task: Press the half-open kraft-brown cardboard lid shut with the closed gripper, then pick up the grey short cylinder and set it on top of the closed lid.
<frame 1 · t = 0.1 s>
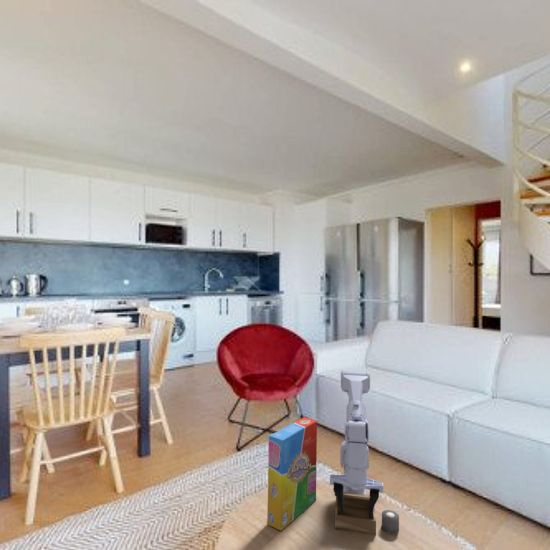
hand: (356, 513, 104), 10 cm above the table, tool pointing down, fingers open, 7 cm apart
box: (354, 519, 117), on the table
grey short cylinder: (390, 528, 113), on the table
lid: (355, 495, 118), point 7 cm above the table, hinge at 26.0°
game box: (292, 512, 121), on the table
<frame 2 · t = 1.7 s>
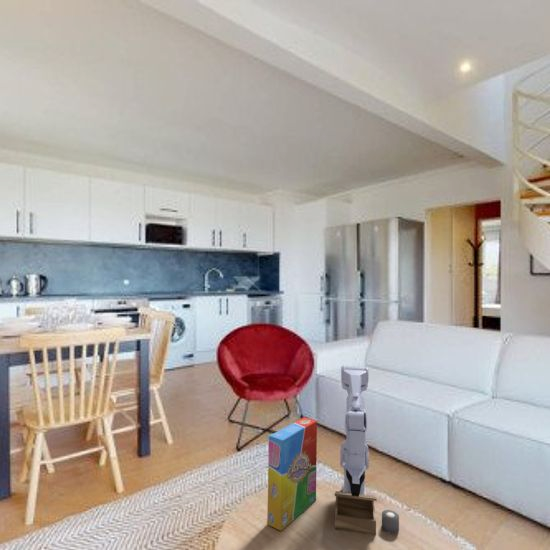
hand: (355, 495, 114), 9 cm above the table, tool pointing down, fingers closed
lid: (355, 495, 118), point 7 cm above the table, hinge at 25.6°, touching gripper
everything else where it was.
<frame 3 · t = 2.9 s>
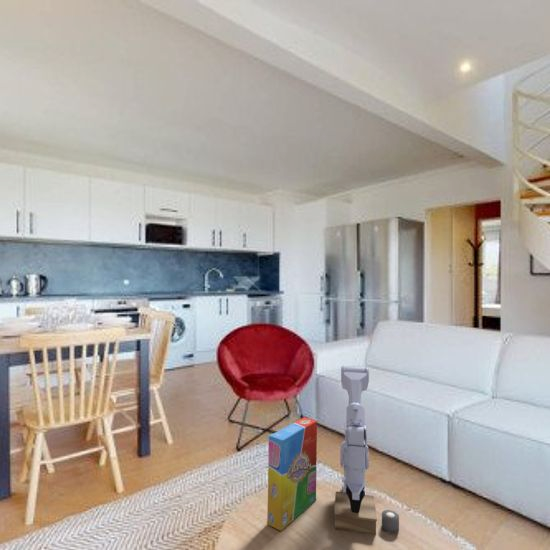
hand: (355, 510, 114), 5 cm above the table, tool pointing down, fingers closed on lid
lid: (355, 505, 117), point 4 cm above the table, hinge at 0.6°, touching gripper
everything else where it was.
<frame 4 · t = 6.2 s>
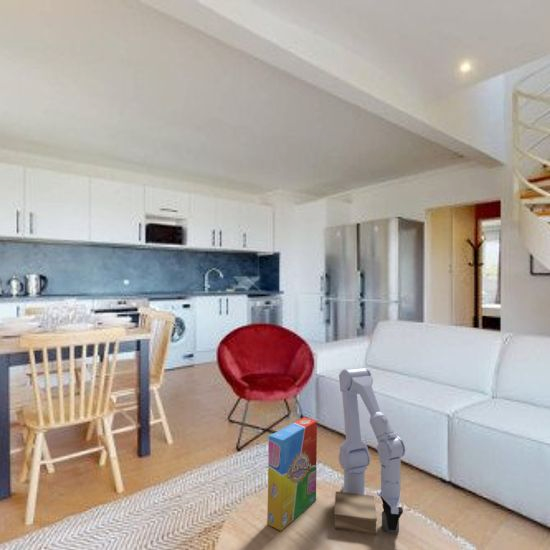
hand: (390, 523, 113), 1 cm above the table, tool pointing down, fingers closed on grey short cylinder, 5 cm apart
grey short cylinder: (390, 528, 113), on the table, touching gripper
lid: (355, 505, 117), point 4 cm above the table, hinge at 0.6°
everything else where it was.
when the fingers open (7 cm above the table, at t = 9.0 s): grey short cylinder drops 1 cm, resting on lid.
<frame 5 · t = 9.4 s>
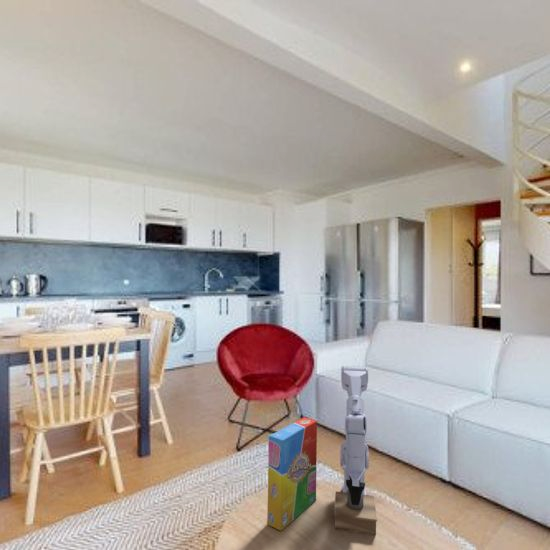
hand: (355, 497, 117), 7 cm above the table, tool pointing down, fingers open, 7 cm apart
grey short cylinder: (355, 505, 117), point 5 cm above the table, touching lid
lid: (355, 505, 117), point 4 cm above the table, hinge at 0.1°, touching grey short cylinder
everything else where it was.
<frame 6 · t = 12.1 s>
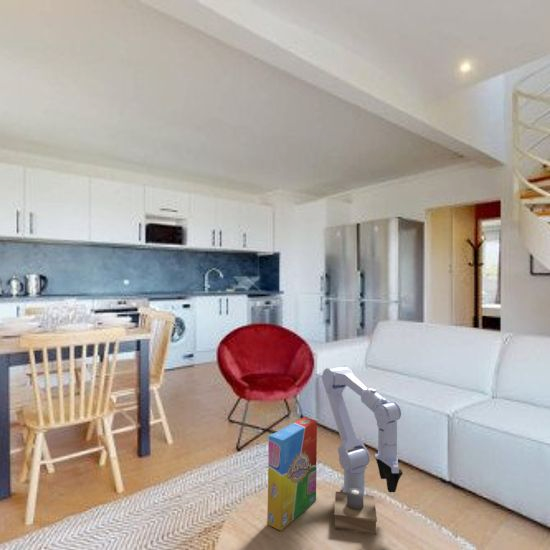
hand: (387, 484, 118), 10 cm above the table, tool pointing down, fingers open, 7 cm apart
nothing on the table moved.
at the end: lid at +0° (first picture: +26°); grey short cylinder inside the target area on the box (0.5 cm from its centre), point 4.7 cm above the box's base; the gripper is holding nothing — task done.
